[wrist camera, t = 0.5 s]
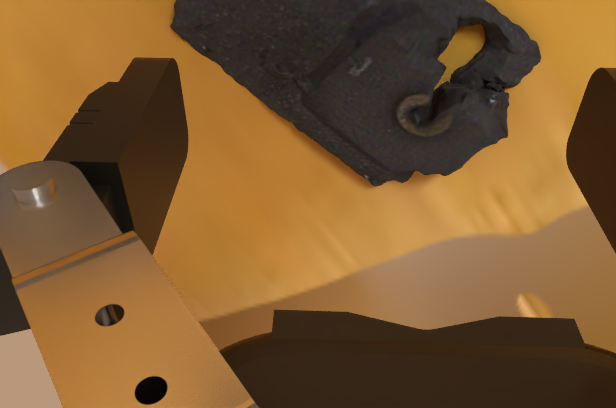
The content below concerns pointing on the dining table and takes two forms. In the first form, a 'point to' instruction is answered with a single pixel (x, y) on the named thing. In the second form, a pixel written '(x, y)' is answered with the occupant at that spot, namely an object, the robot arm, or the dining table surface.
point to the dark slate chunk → (369, 74)
